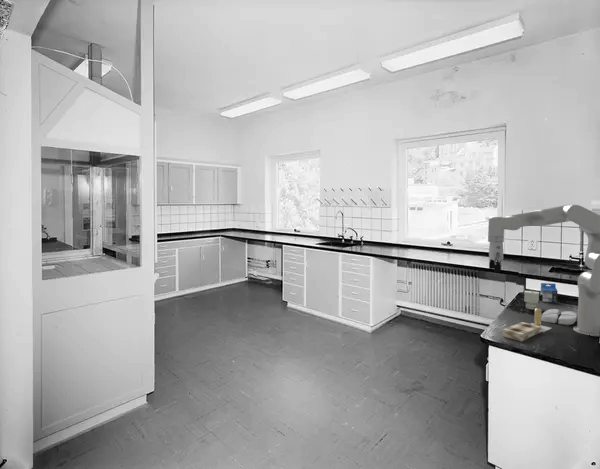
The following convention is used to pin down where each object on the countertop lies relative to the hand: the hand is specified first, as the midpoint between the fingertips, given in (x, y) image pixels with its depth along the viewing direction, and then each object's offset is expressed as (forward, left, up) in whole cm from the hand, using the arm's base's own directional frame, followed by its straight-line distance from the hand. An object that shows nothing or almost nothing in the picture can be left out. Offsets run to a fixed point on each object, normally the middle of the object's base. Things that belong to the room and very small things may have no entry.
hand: (494, 270), depth 195 cm
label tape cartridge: (+4, -78, -31) cm, 84 cm away
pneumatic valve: (+3, -51, -31) cm, 59 cm away
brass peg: (-16, -15, -30) cm, 37 cm away
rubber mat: (-16, -15, -31) cm, 38 cm away
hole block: (-16, +2, -31) cm, 35 cm away
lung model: (-16, -42, -31) cm, 54 cm away
